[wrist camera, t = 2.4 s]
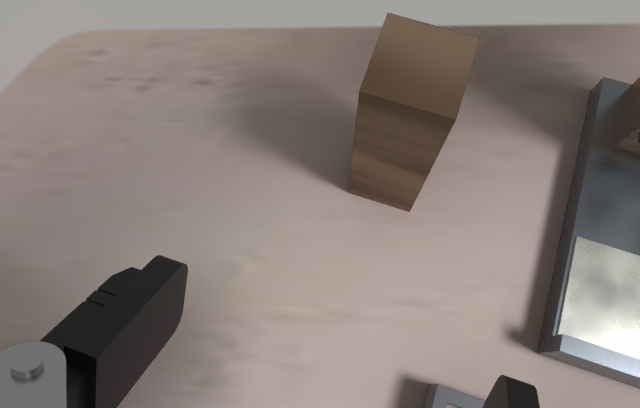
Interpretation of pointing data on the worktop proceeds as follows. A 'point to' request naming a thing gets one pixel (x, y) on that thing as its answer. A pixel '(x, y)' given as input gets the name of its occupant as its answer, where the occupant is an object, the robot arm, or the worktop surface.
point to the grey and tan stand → (601, 244)
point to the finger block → (407, 108)
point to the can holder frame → (449, 398)
